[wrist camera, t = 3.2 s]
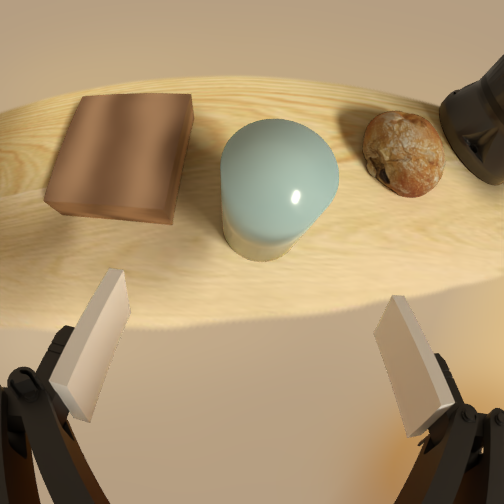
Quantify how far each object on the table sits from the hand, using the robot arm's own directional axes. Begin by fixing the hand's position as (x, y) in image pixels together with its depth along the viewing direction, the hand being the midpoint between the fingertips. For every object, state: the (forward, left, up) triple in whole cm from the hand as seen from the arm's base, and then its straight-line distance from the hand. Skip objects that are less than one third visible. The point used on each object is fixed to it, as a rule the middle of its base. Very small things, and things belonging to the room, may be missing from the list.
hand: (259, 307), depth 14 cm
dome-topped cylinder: (-1, -8, -12) cm, 14 cm away
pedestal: (+13, -13, -12) cm, 22 cm away
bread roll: (-16, -18, -12) cm, 27 cm away
